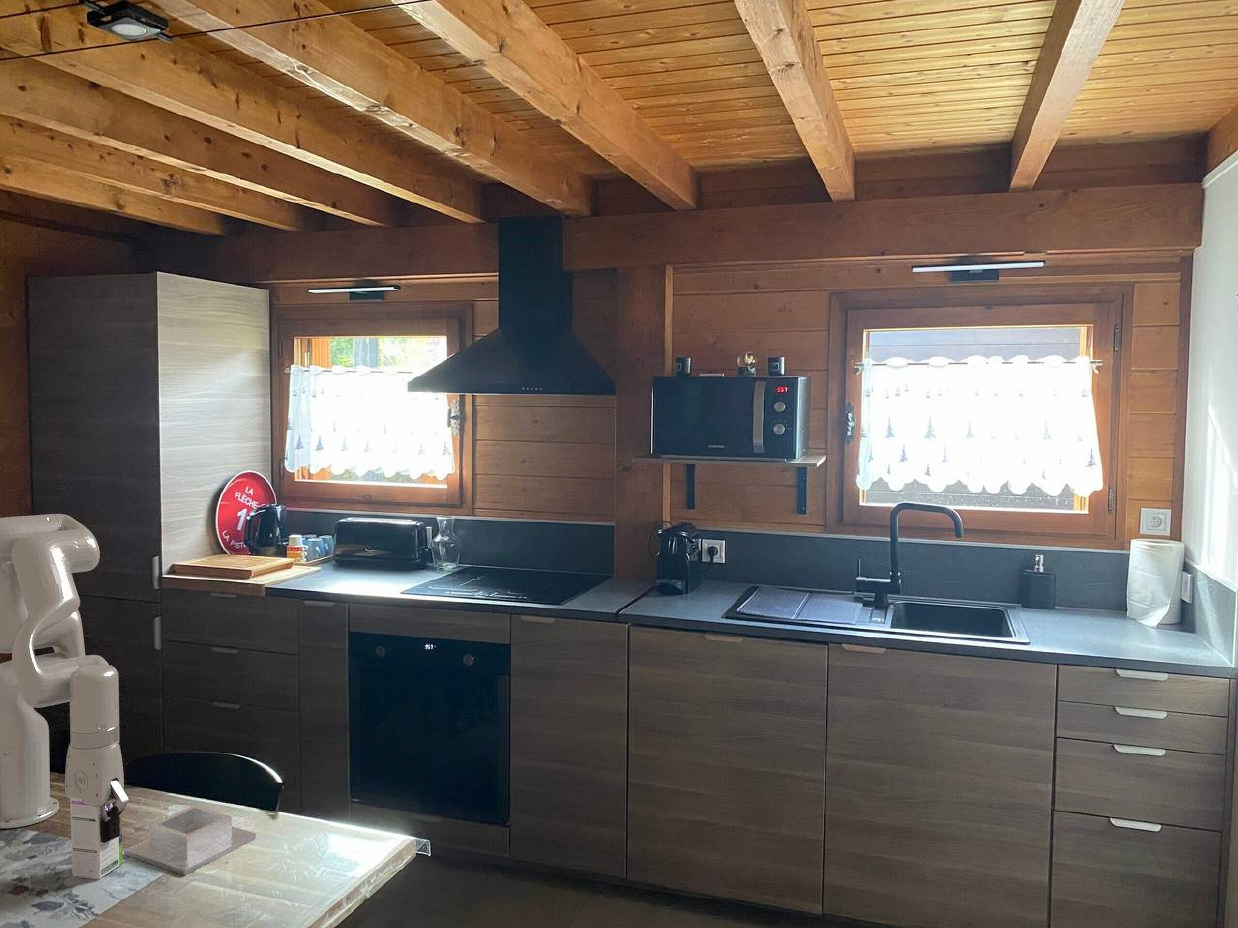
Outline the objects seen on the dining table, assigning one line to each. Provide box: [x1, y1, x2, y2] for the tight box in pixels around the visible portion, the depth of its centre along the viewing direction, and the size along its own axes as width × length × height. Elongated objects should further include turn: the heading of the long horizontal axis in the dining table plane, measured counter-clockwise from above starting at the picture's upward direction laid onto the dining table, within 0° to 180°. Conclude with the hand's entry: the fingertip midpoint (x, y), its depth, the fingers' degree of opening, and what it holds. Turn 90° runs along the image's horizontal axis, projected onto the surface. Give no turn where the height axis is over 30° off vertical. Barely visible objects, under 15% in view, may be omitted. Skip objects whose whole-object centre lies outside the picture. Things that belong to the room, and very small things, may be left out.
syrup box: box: [69, 796, 124, 881], centre depth 166 cm, size 6×6×14 cm
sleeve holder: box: [123, 804, 257, 877], centre depth 176 cm, size 16×16×5 cm
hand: (96, 833), depth 166 cm, fingers closed on syrup box, 6 cm apart
